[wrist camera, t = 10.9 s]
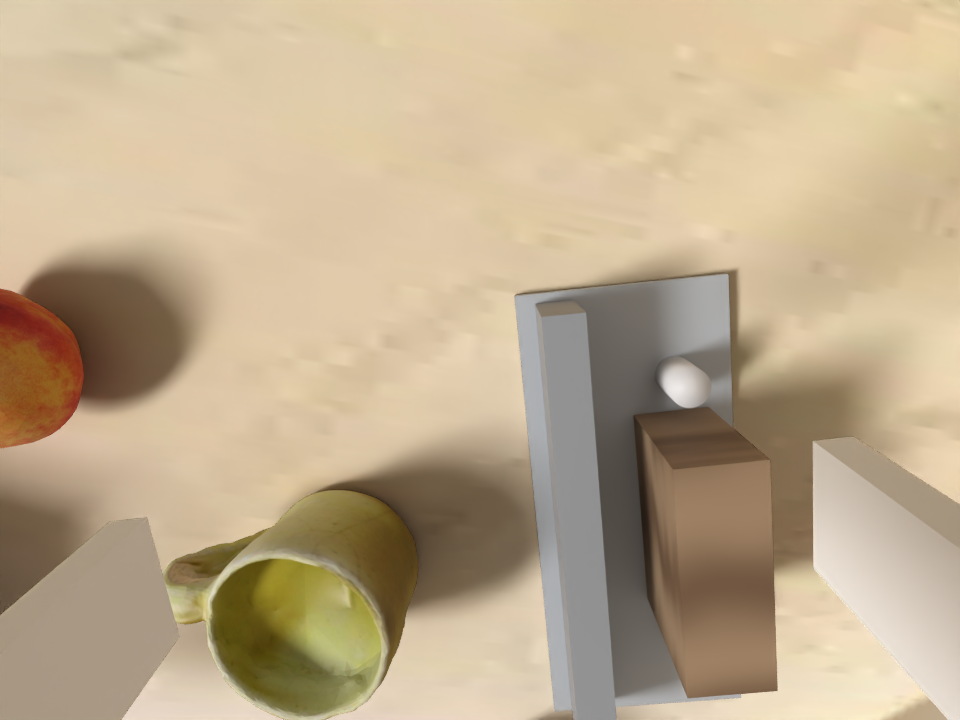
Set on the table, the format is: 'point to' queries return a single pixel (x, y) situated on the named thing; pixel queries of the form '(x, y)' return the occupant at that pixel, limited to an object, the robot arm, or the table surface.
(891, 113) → the table surface
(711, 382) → the ledge
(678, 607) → the picture block
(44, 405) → the fruit
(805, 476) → the table surface
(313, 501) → the mug
